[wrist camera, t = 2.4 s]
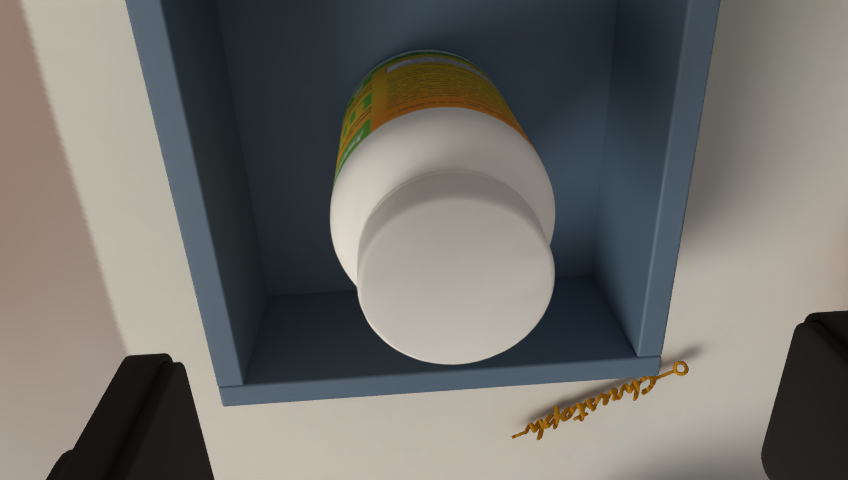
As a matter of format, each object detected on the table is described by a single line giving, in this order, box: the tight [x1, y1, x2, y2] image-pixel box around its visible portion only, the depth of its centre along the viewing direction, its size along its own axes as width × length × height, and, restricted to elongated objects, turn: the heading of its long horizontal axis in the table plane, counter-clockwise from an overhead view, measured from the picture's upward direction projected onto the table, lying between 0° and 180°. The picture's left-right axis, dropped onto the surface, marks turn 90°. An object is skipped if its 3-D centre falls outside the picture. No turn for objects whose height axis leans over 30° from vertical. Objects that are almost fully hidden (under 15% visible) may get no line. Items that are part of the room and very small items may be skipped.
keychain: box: [512, 361, 689, 440], centre depth 28 cm, size 8×1×1 cm, turn 117°
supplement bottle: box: [330, 49, 555, 364], centre depth 17 cm, size 5×5×10 cm
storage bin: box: [125, 0, 720, 406], centre depth 20 cm, size 14×14×6 cm
